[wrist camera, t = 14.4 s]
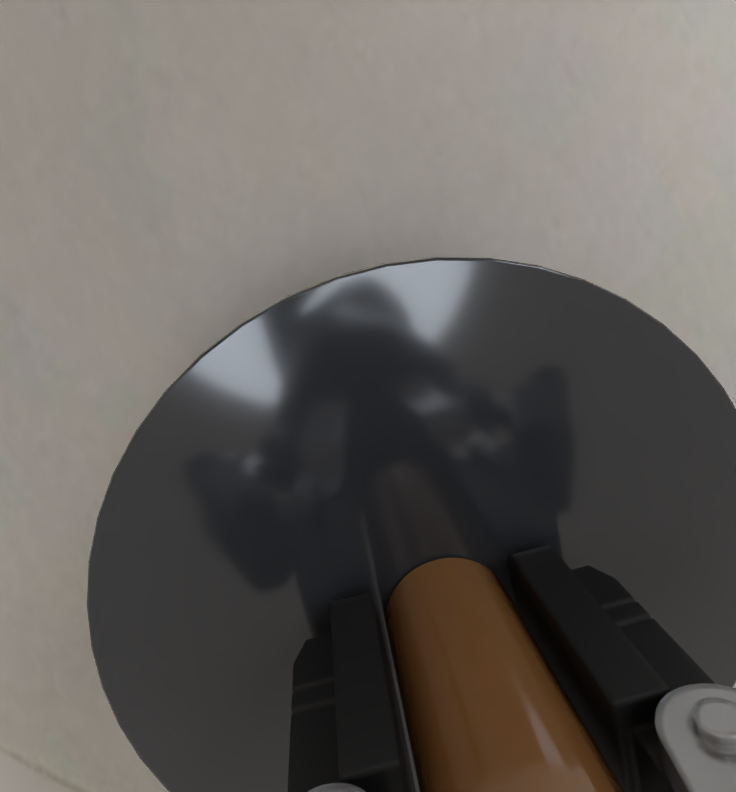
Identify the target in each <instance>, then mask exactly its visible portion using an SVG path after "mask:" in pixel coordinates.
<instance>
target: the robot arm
mask: <svg viewBox="0 0 736 792" xmlns="http://www.w3.org/2000/svg"><path fill="white" fill-rule="evenodd" d="M508 567H509V573H510V578H511V583H512V588H513V593H514V599H515V604H516V608H517V609H518V611H519V613H520V614H521V616H522V618H523V619H524V621H525V623H526V625H527V626H528V628H529V630H530V631H531V633H532V635H533V636H534V638H535V640H536V642H537V643H538V645H539V647H540V648H541V650H542V652H543V653H544V655H545V657H546V659H547V660H548V662H549V664H550V665H551V667H552V669H553V670H554V672H555V674H556V676H557V677H558V679H559V681H560V682H561V684H562V686H563V687H564V689H565V691H566V693H567V694H568V696H569V698H570V699H571V701H572V703H573V704H574V706H575V708H576V710H577V711H578V713H579V715H580V716H581V718H582V720H583V721H584V723H585V725H586V727H587V728H588V730H589V732H590V733H591V735H592V737H593V738H594V740H595V742H596V744H597V745H598V747H599V749H600V750H601V752H602V754H603V755H604V757H605V759H606V760H607V762H608V764H609V766H610V767H611V769H612V771H613V772H614V774H615V776H616V777H617V779H618V781H619V783H620V784H621V786H622V788H623V789H624V791H625V792H736V688H733V687H729V686H725V685H719V684H715V683H714V682H713V680H712V679H711V678H710V677H709V676H708V675H707V674H706V673H705V672H704V671H703V670H702V669H701V668H700V667H699V666H698V665H697V664H696V663H695V662H694V660H693V659H692V658H691V657H690V656H689V655H688V654H687V653H686V652H685V651H684V650H683V649H682V648H681V647H680V646H679V645H678V644H677V643H676V642H675V641H674V639H673V638H672V637H671V636H670V635H669V634H668V633H667V632H666V631H665V630H664V629H663V628H662V627H661V626H660V625H659V624H658V623H657V622H656V621H655V619H654V618H653V619H651V617H650V615H649V613H648V612H647V611H646V610H645V609H644V608H643V607H642V606H641V605H640V604H639V603H638V602H635V600H634V597H633V596H632V595H631V594H630V593H629V592H628V591H627V590H626V589H625V588H624V587H623V586H622V585H621V584H620V583H619V582H618V581H617V580H616V578H613V577H611V576H609V575H607V574H605V573H603V572H601V571H599V570H597V569H595V568H593V567H591V566H589V565H588V566H584V567H580V568H576V569H573V570H571V569H570V568H569V567H568V565H567V564H566V563H565V562H564V561H563V559H562V558H561V557H560V556H559V555H558V553H557V552H556V551H555V550H554V549H553V548H552V547H551V546H550V545H546V546H543V547H539V548H535V549H531V550H527V551H524V552H520V553H516V554H512V555H509V556H508ZM330 614H331V633H330V634H326V635H322V636H318V637H315V638H311V639H307V640H306V641H305V643H304V645H303V647H302V649H301V651H300V652H299V654H298V656H297V658H296V660H295V662H294V664H293V683H292V690H293V694H292V705H291V711H292V716H291V726H290V748H289V769H288V791H287V792H416V789H415V784H414V779H413V773H412V768H411V763H410V758H409V753H408V748H407V743H406V738H405V732H404V727H403V722H402V717H401V712H400V707H399V702H398V697H397V692H396V688H395V684H394V679H393V675H392V671H391V667H390V663H389V659H388V655H387V652H386V648H385V644H384V640H383V636H382V633H381V629H380V625H379V621H378V617H377V613H376V610H375V606H374V602H373V598H372V595H371V592H366V593H363V594H359V595H355V596H351V597H347V598H344V599H340V600H336V601H332V602H330Z"/></svg>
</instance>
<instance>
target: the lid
mask: <svg viewBox="0 0 736 792" xmlns="http://www.w3.org/2000/svg"><path fill="white" fill-rule="evenodd" d="M546 545H550V546H551V547H552V548H553V549H554V550H555V551H556V552H557V553H558V555H559V556H560V557H561V558H562V559H563V561H564V562H565V563H566V564H567V565H568V567H569V568H570V569H571V570H573V569H576V568H580V567H584V566H588V565H589V566H591V567H593V568H595V569H597V570H599V571H601V572H603V573H605V574H607V575H609V576H611V577H613V578H616V580H617V581H618V582H619V583H620V584H621V585H622V586H623V587H624V588H625V589H626V590H627V591H628V592H629V593H630V594H631V595H632V596H633V597H634V600H635V602H638V603H639V604H640V605H641V606H642V607H643V608H644V609H645V610H646V611H647V612H648V613H649V615H650V617H651V619H653V618H654V619H655V621H656V622H657V623H658V624H659V625H660V626H661V627H662V628H663V629H664V630H665V631H666V632H667V633H668V634H669V635H670V636H671V637H672V638H673V639H674V641H675V642H676V643H677V644H678V645H679V646H680V647H681V648H682V649H683V650H684V651H685V652H686V653H687V654H688V655H689V656H690V657H691V658H692V659H693V660H694V662H695V663H696V664H697V665H698V666H699V667H700V668H701V669H702V670H703V671H704V672H705V673H706V674H707V675H708V676H709V677H710V678H711V679H712V680H713V682H714V683H715V684H719V685H725V686H729V687H733V686H734V684H735V682H736V409H735V407H734V405H733V403H732V402H731V400H730V398H729V397H728V395H727V393H726V391H725V390H724V388H723V387H722V385H721V384H720V383H719V382H718V380H717V379H716V378H715V377H714V375H713V374H712V373H711V372H710V370H709V369H708V368H707V367H706V365H705V364H704V363H703V362H702V361H701V359H700V358H699V357H698V356H697V354H696V353H695V352H694V351H692V350H691V349H690V348H689V347H688V346H687V345H686V344H685V343H684V342H683V341H682V340H680V339H679V338H678V337H677V336H676V335H675V334H674V333H673V332H672V331H671V330H669V329H668V328H667V327H666V326H665V325H664V324H663V323H661V322H660V321H658V320H657V319H655V318H654V317H652V316H651V315H649V314H648V313H646V312H645V311H643V310H642V309H640V308H639V307H637V306H636V305H634V304H633V303H631V302H630V301H628V300H627V299H625V298H622V297H620V296H618V295H616V294H614V293H612V292H610V291H608V290H605V289H603V288H601V287H599V286H597V285H595V284H593V283H590V282H588V281H586V280H584V279H581V278H578V277H574V276H571V275H568V274H564V273H561V272H558V271H555V270H551V269H548V268H545V267H541V266H538V265H532V264H525V263H519V262H512V261H506V260H499V259H493V258H460V257H431V258H423V259H415V260H407V261H398V262H390V263H383V264H379V265H375V266H371V267H368V268H364V269H360V270H356V271H352V272H349V273H345V274H341V275H337V276H334V277H331V278H329V279H326V280H324V281H322V282H319V283H317V284H314V285H312V286H309V287H307V288H305V289H302V290H300V291H297V292H295V293H293V294H290V295H288V296H286V297H284V298H283V299H281V300H279V301H277V302H276V303H274V304H272V305H270V306H269V307H267V308H265V309H264V310H262V311H260V312H258V313H257V314H255V315H253V316H251V317H250V318H248V319H246V320H245V321H243V322H242V323H241V324H239V325H238V326H237V327H235V328H234V329H233V330H232V331H230V332H229V333H228V334H226V335H225V336H224V337H223V338H221V339H220V340H219V341H217V342H216V343H215V344H214V345H212V346H211V347H210V348H208V349H207V350H206V351H205V352H203V353H202V354H201V355H200V356H199V357H198V358H197V359H196V360H195V361H194V362H193V363H192V364H191V365H190V366H189V367H188V368H187V369H186V370H185V371H184V372H183V373H182V375H181V376H180V377H179V378H178V379H177V380H176V381H175V382H174V383H173V384H172V385H171V386H170V387H169V388H168V389H167V390H166V391H165V392H164V393H163V395H162V396H161V398H160V399H159V400H158V402H157V403H156V404H155V406H154V407H153V408H152V410H151V411H150V413H149V414H148V415H147V417H146V418H145V419H144V421H143V422H142V423H141V425H140V426H139V427H138V429H137V430H136V432H135V434H134V435H133V437H132V439H131V441H130V443H129V445H128V447H127V449H126V450H125V452H124V454H123V456H122V458H121V460H120V462H119V464H118V465H117V467H116V469H115V471H114V473H113V475H112V478H111V481H110V484H109V486H108V489H107V492H106V495H105V498H104V500H103V503H102V506H101V509H100V512H99V514H98V517H97V522H96V527H95V532H94V537H93V543H92V548H91V553H90V558H89V568H88V592H87V610H88V619H89V628H90V637H91V646H92V651H93V655H94V658H95V662H96V666H97V669H98V673H99V677H100V680H101V684H102V688H103V690H104V692H105V695H106V697H107V699H108V701H109V704H110V706H111V708H112V710H113V713H114V715H115V717H116V719H117V722H118V724H119V726H120V727H121V729H122V731H123V732H124V734H125V735H126V737H127V738H128V740H129V742H130V743H131V745H132V746H133V748H134V749H135V751H136V753H137V754H138V756H139V757H140V759H141V760H142V761H143V762H144V763H145V765H146V766H147V767H148V768H149V769H150V770H151V772H152V773H153V774H154V775H155V776H156V777H157V779H158V780H159V781H160V782H161V783H162V784H163V786H164V787H165V788H166V789H167V790H168V791H169V792H287V791H288V769H289V748H290V726H291V716H292V711H291V705H292V694H293V690H292V683H293V664H294V662H295V660H296V658H297V656H298V654H299V652H300V651H301V649H302V647H303V645H304V643H305V641H306V640H307V639H311V638H315V637H318V636H322V635H326V634H330V633H331V614H330V602H332V601H336V600H340V599H344V598H347V597H351V596H355V595H359V594H363V593H366V592H371V595H372V598H373V602H374V606H375V610H376V613H377V617H378V621H379V625H380V629H381V633H382V636H383V640H384V644H385V648H386V652H387V655H388V659H389V663H390V667H391V671H392V675H393V679H394V684H395V688H396V692H397V697H398V702H399V707H400V712H401V717H402V722H403V727H404V732H405V738H406V743H407V748H408V753H409V758H410V763H411V768H412V773H413V779H414V784H415V789H416V792H625V791H624V789H623V788H622V786H621V784H620V783H619V781H618V779H617V777H616V776H615V774H614V772H613V771H612V769H611V767H610V766H609V764H608V762H607V760H606V759H605V757H604V755H603V754H602V752H601V750H600V749H599V747H598V745H597V744H596V742H595V740H594V738H593V737H592V735H591V733H590V732H589V730H588V728H587V727H586V725H585V723H584V721H583V720H582V718H581V716H580V715H579V713H578V711H577V710H576V708H575V706H574V704H573V703H572V701H571V699H570V698H569V696H568V694H567V693H566V691H565V689H564V687H563V686H562V684H561V682H560V681H559V679H558V677H557V676H556V674H555V672H554V670H553V669H552V667H551V665H550V664H549V662H548V660H547V659H546V657H545V655H544V653H543V652H542V650H541V648H540V647H539V645H538V643H537V642H536V640H535V638H534V636H533V635H532V633H531V631H530V630H529V628H528V626H527V625H526V623H525V621H524V619H523V618H522V616H521V614H520V613H519V611H518V609H517V608H516V604H515V599H514V593H513V588H512V583H511V578H510V573H509V567H508V556H509V555H512V554H516V553H520V552H524V551H527V550H531V549H535V548H539V547H543V546H546Z"/></svg>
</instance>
